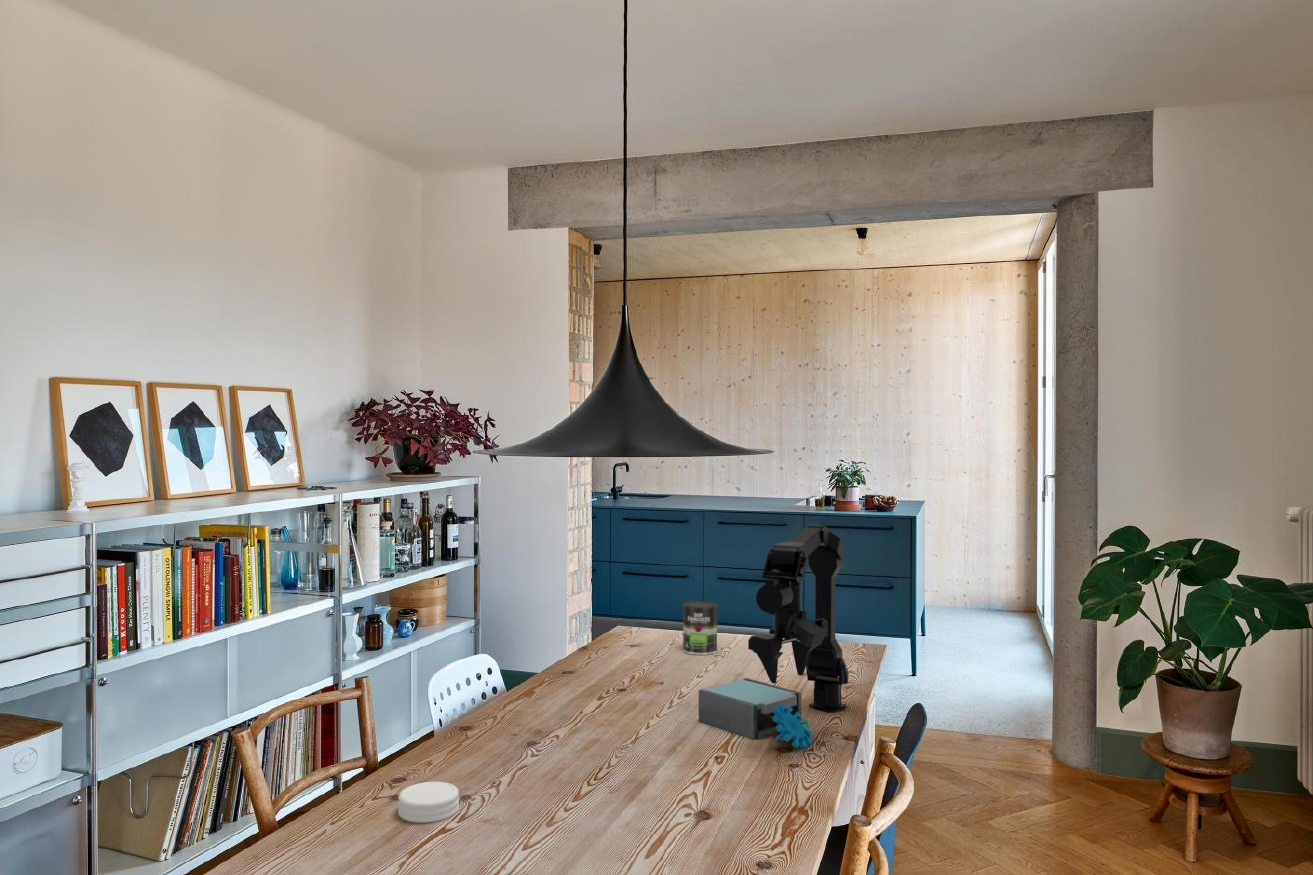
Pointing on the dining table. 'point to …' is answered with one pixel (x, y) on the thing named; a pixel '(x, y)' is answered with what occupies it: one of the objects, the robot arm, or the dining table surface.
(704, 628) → the coffee can
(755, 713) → the grey drawer box
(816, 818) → the dining table surface
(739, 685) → the sliding box lid
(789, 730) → the gear
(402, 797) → the coaster
